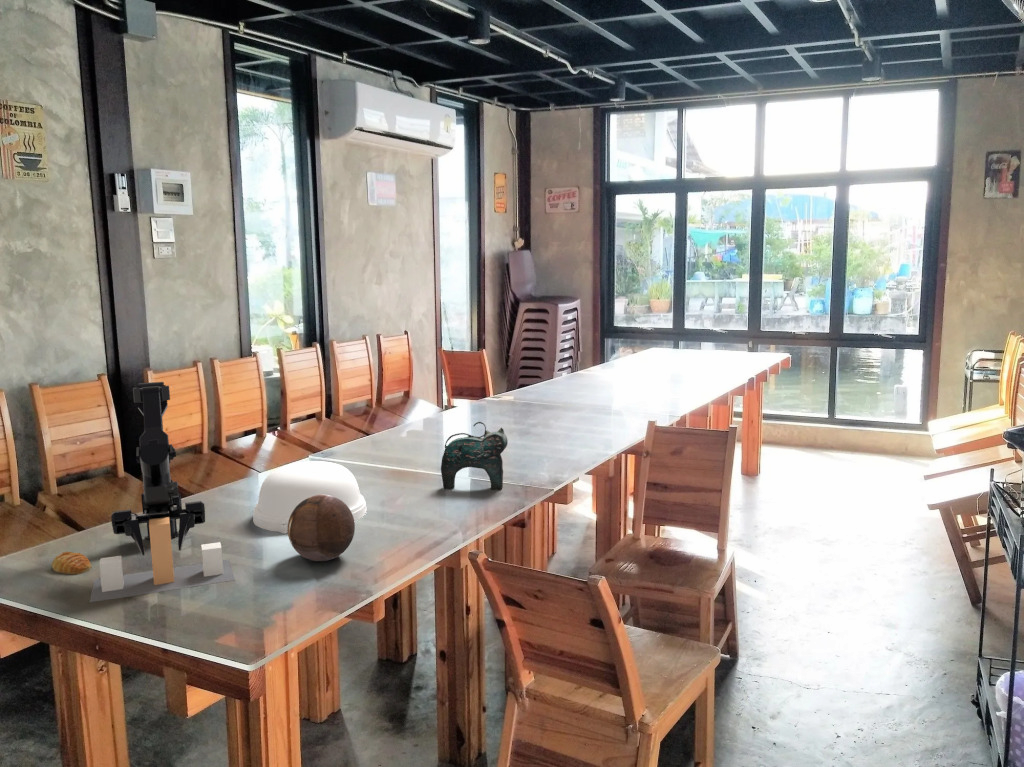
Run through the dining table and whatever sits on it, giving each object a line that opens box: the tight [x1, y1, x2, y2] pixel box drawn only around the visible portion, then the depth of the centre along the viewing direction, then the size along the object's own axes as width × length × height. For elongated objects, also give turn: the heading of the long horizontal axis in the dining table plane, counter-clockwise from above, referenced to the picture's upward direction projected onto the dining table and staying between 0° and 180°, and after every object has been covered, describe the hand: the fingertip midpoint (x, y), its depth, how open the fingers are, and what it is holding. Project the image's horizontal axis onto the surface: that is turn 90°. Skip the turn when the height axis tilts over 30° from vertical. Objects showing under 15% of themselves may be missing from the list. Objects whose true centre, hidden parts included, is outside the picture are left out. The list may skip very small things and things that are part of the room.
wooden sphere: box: [287, 495, 356, 562], centre depth 196 cm, size 15×15×15 cm
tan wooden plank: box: [149, 517, 174, 585], centre depth 184 cm, size 5×4×13 cm
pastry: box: [51, 551, 92, 575], centre depth 192 cm, size 9×7×4 cm
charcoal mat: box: [89, 559, 235, 603], centre depth 185 cm, size 14×28×1 cm, turn 112°
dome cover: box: [252, 460, 368, 534], centre depth 231 cm, size 32×30×14 cm
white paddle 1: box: [98, 555, 124, 592], centre depth 180 cm, size 4×4×6 cm
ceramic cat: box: [440, 421, 508, 490], centre depth 254 cm, size 20×6×20 cm, turn 84°
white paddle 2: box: [200, 541, 223, 577], centre depth 188 cm, size 4×4×6 cm
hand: (161, 552), depth 182 cm, fingers open, 7 cm apart
